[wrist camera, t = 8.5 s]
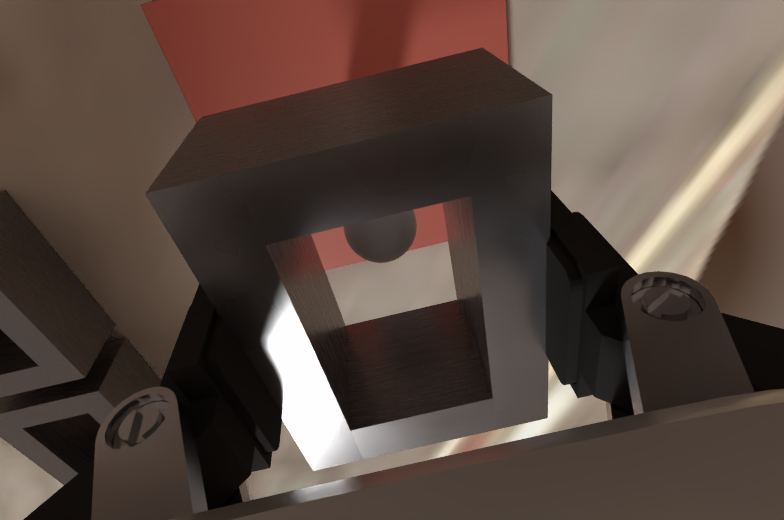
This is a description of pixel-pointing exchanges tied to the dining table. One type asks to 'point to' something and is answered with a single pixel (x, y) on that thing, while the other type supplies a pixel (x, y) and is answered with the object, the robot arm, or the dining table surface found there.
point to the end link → (366, 202)
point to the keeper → (321, 72)
